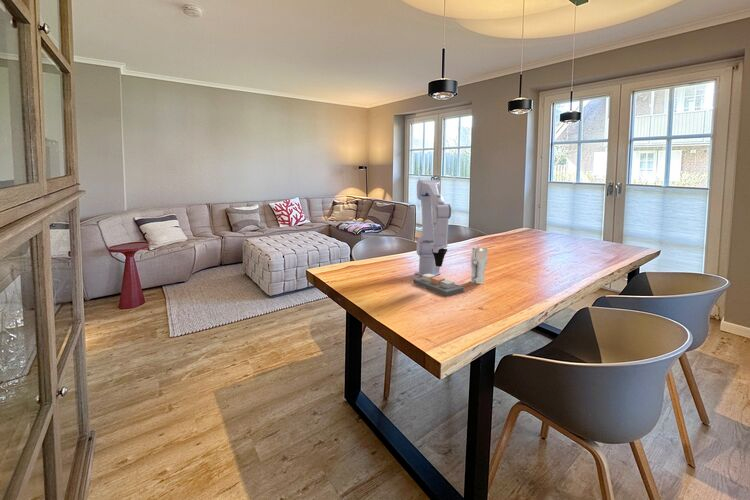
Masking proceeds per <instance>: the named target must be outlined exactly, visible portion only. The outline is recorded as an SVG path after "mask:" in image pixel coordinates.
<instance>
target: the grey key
mask: <svg viewBox="0 0 750 500" xmlns="http://www.w3.org/2000/svg"><path fill="white" fill-rule="evenodd" d="M455 284H456V283H455V281H453V280H449V279H445V280H444V281H441V285H440V286H441V287H444V288H446V289H449V288H454V287H455Z"/></svg>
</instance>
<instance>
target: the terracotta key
mask: <svg viewBox="0 0 750 500" xmlns="http://www.w3.org/2000/svg"><path fill="white" fill-rule="evenodd" d="M444 280H446V279H445V278H444V277H441V276H436V277H434V278H431V283H433V284H436V285H441V281H444Z"/></svg>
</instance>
